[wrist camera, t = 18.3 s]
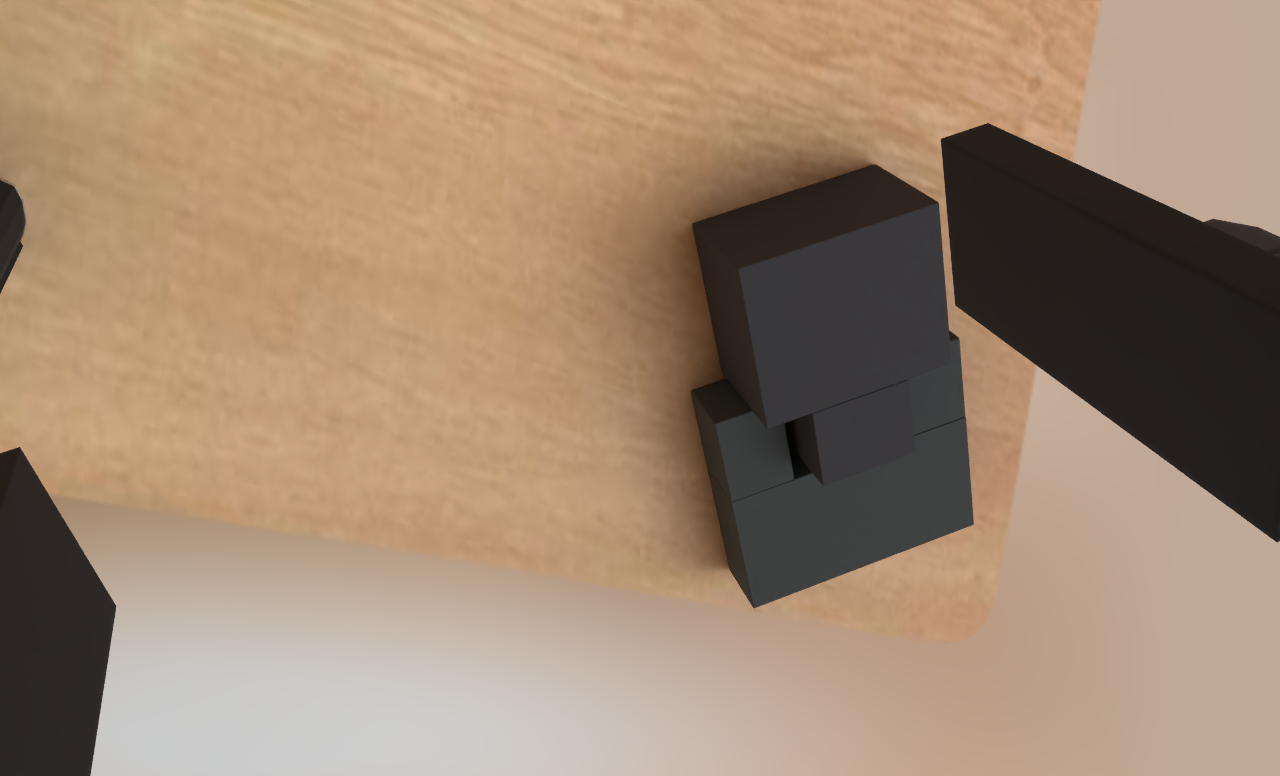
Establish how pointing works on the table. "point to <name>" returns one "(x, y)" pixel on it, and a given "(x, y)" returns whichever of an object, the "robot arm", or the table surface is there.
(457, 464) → the table surface
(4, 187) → the camera
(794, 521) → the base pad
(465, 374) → the table surface
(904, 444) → the pad
